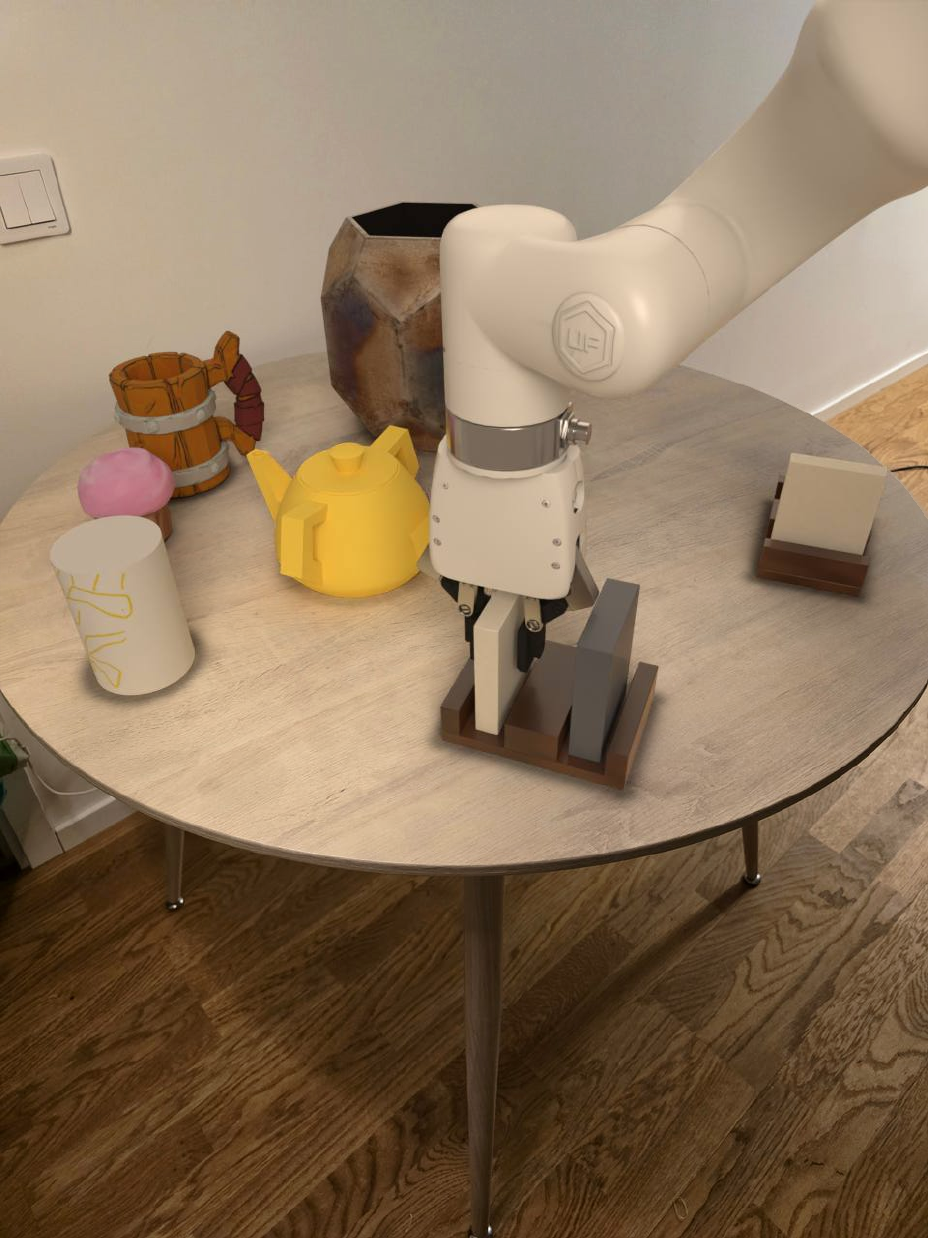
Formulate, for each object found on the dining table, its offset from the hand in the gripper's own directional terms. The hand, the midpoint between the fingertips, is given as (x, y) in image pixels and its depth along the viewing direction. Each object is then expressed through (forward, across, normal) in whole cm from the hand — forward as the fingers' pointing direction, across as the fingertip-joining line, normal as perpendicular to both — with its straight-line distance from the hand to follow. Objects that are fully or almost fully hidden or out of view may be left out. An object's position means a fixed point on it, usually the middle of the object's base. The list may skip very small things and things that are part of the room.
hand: (504, 653), depth 64 cm
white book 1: (+5, 0, 0) cm, 5 cm away
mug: (+6, +45, -24) cm, 52 cm away
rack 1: (+6, -4, 0) cm, 7 cm away
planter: (+6, +25, -44) cm, 52 cm away
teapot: (+6, +20, -14) cm, 26 cm away
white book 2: (+5, -21, -28) cm, 35 cm away
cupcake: (+6, +42, -10) cm, 44 cm away
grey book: (+5, -8, 0) cm, 9 cm away
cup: (+6, +30, +6) cm, 31 cm away
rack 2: (+6, -21, -32) cm, 38 cm away
